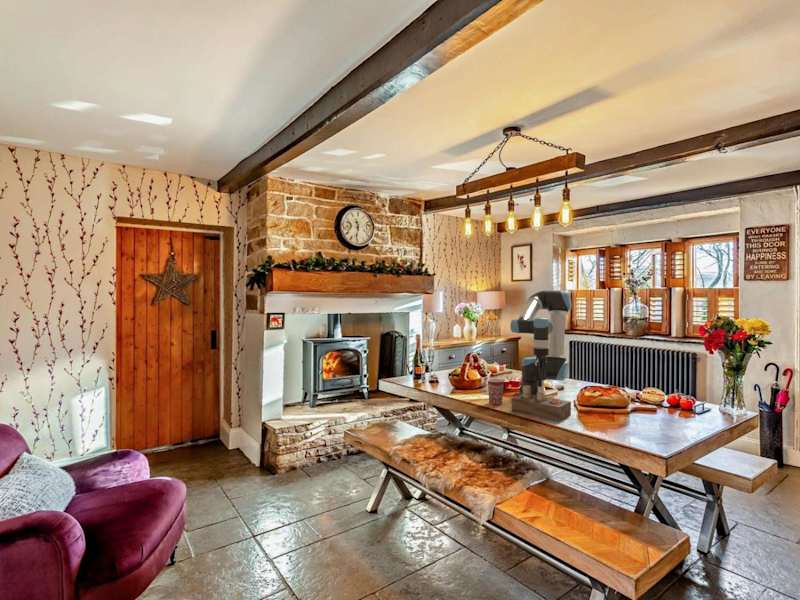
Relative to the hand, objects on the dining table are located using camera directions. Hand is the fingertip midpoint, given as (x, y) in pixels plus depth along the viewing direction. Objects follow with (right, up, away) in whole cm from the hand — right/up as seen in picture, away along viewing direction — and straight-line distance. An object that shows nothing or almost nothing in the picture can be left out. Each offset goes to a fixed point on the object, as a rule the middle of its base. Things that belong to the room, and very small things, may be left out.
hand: (540, 392), depth 232 cm
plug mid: (0, -9, 0) cm, 9 cm away
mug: (-18, -11, +21) cm, 29 cm away
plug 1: (-6, -6, +6) cm, 10 cm away
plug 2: (+6, -10, -5) cm, 13 cm away
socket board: (0, -11, 0) cm, 11 cm away
